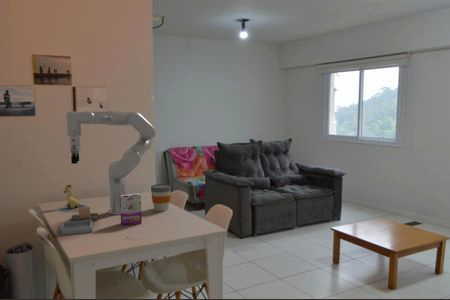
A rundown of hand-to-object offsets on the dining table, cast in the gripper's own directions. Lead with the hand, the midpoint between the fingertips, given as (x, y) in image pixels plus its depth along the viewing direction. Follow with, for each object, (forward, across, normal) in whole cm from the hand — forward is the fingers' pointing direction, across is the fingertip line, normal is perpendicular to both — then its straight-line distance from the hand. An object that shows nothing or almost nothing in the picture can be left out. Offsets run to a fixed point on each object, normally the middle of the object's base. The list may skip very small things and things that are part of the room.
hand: (75, 162), depth 221 cm
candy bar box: (+32, -22, -30) cm, 50 cm away
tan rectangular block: (+32, -7, -5) cm, 34 cm away
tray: (+32, -25, -2) cm, 41 cm away
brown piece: (+32, -7, -5) cm, 34 cm away
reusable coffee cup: (+32, +3, -50) cm, 59 cm away
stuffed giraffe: (+33, +22, +5) cm, 40 cm away
